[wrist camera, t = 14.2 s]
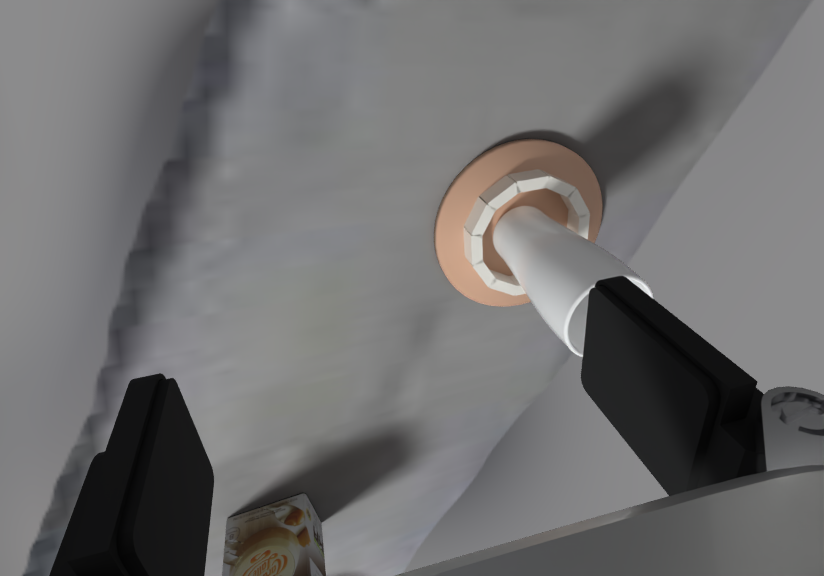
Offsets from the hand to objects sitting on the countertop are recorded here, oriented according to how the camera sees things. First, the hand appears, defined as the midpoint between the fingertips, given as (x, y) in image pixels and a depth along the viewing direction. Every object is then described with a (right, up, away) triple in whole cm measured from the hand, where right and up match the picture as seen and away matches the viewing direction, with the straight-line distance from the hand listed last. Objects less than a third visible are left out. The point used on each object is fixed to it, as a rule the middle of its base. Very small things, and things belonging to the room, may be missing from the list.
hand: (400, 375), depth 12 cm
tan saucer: (+10, +8, +37) cm, 39 cm away
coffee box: (-15, -24, +48) cm, 56 cm away
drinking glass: (+10, +7, +36) cm, 38 cm away
